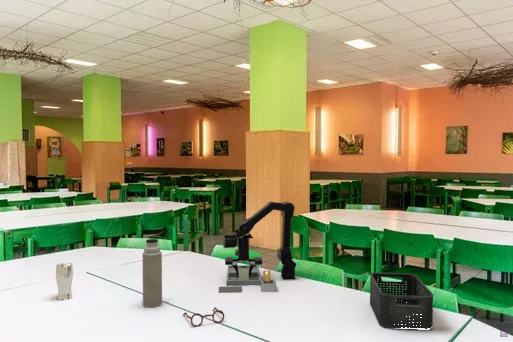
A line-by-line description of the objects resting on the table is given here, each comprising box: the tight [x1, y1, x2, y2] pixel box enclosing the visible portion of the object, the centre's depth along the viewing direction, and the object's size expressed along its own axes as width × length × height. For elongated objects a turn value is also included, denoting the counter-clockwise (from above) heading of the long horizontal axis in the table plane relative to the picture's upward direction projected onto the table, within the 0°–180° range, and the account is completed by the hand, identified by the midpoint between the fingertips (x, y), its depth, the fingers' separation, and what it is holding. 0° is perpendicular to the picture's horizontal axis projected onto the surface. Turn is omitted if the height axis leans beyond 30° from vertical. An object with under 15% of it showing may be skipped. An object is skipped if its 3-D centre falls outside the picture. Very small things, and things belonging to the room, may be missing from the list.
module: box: [238, 266, 250, 280], centre depth 211 cm, size 5×5×8 cm
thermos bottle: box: [142, 238, 163, 309], centre depth 178 cm, size 8×8×28 cm
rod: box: [262, 270, 272, 283], centre depth 198 cm, size 4×4×8 cm
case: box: [225, 264, 262, 287], centre depth 219 cm, size 17×30×2 cm, turn 3°
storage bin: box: [369, 272, 434, 329], centre depth 166 cm, size 29×19×13 cm
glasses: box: [182, 306, 225, 328], centre depth 163 cm, size 13×13×5 cm
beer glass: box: [55, 262, 74, 300], centre depth 186 cm, size 7×7×15 cm
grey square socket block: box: [259, 278, 277, 293], centre depth 198 cm, size 7×7×4 cm
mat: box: [217, 286, 243, 294], centre depth 198 cm, size 11×8×1 cm
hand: (243, 277), depth 211 cm, fingers closed on module, 5 cm apart
